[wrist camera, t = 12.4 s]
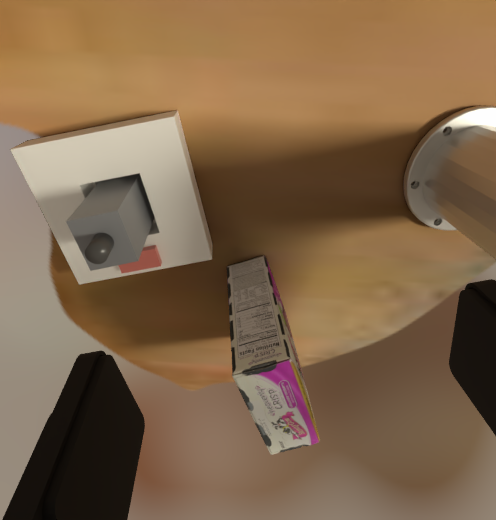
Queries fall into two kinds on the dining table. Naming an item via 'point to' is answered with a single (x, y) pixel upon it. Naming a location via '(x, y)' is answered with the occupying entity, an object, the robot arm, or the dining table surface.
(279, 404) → the candy bar box
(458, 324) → the robot arm
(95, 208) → the plug
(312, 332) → the dining table surface
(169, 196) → the socket plate
